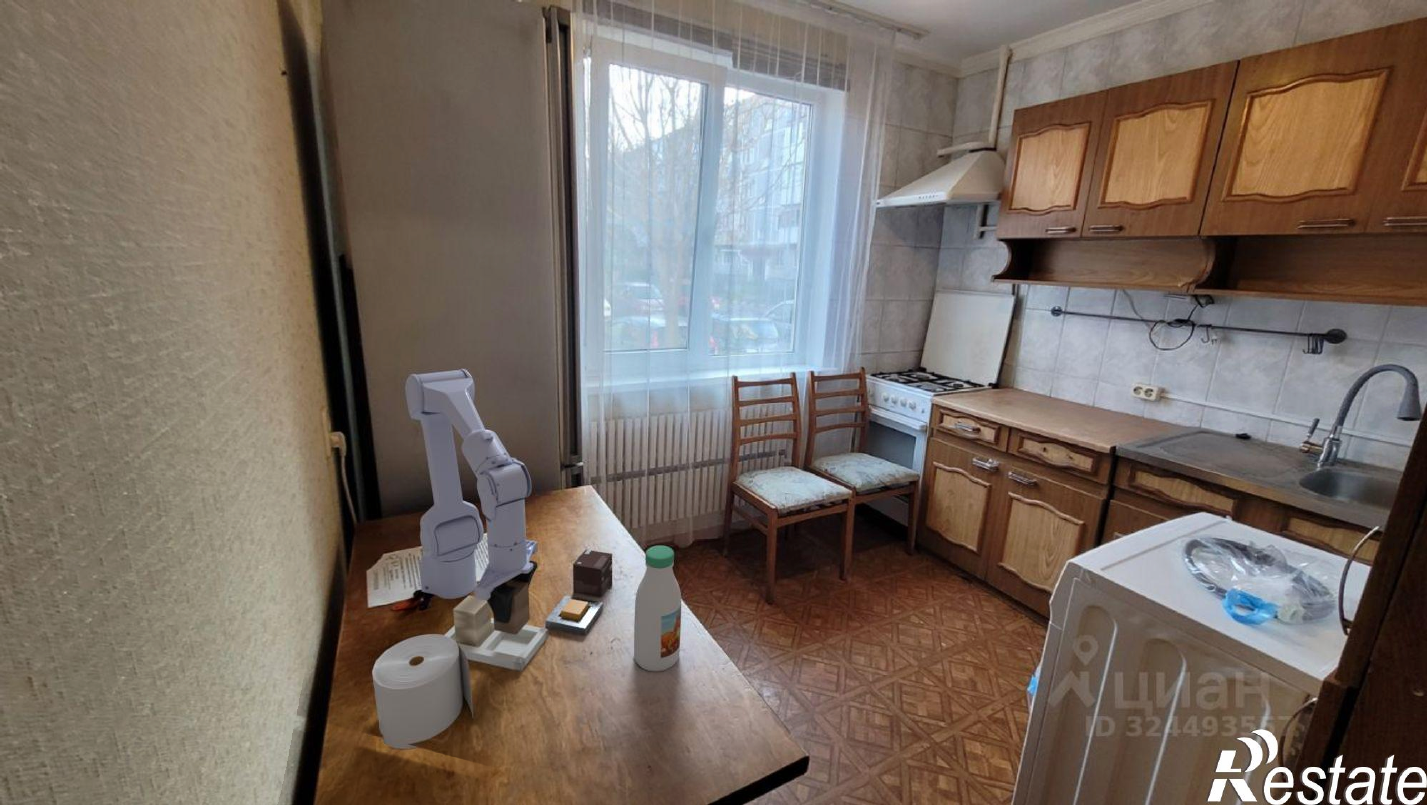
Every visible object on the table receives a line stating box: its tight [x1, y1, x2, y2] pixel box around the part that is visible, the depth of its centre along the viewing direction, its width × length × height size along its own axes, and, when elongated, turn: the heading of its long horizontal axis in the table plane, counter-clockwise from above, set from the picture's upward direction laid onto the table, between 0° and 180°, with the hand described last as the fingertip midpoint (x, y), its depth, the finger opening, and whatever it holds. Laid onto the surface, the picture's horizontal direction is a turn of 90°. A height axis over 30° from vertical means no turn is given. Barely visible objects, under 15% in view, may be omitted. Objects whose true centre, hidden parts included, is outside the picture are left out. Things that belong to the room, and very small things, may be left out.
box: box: [572, 549, 613, 598], centre depth 109 cm, size 6×6×7 cm
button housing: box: [544, 595, 604, 637], centre depth 99 cm, size 8×8×2 cm
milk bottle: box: [633, 545, 682, 672], centre depth 90 cm, size 8×8×20 cm
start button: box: [561, 599, 588, 621], centre depth 99 cm, size 4×4×3 cm
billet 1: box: [452, 594, 492, 648], centre depth 92 cm, size 4×4×7 cm
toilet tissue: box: [371, 633, 474, 750], centre depth 77 cm, size 11×12×10 cm
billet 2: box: [492, 580, 531, 635], centre depth 89 cm, size 4×4×7 cm
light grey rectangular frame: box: [444, 617, 549, 672], centre depth 92 cm, size 16×8×2 cm, turn 78°
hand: (510, 612), depth 89 cm, fingers closed on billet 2, 4 cm apart
